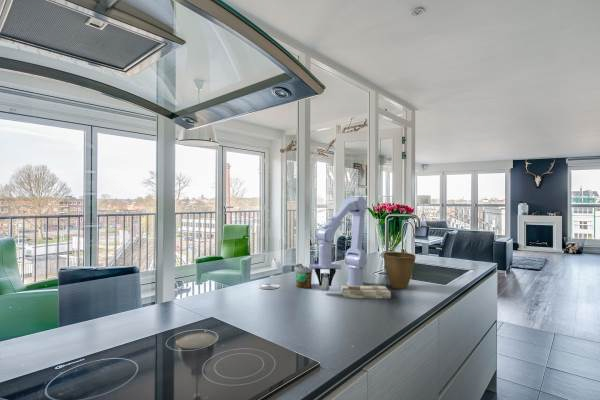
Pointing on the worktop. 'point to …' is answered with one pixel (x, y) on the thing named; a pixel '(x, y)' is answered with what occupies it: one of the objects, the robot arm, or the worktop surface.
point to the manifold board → (365, 291)
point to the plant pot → (399, 268)
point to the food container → (303, 276)
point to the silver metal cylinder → (325, 281)
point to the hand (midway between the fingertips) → (325, 285)
